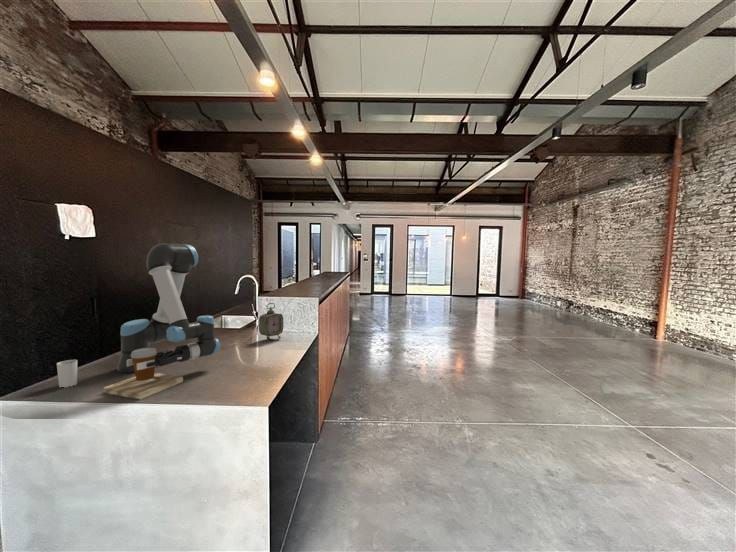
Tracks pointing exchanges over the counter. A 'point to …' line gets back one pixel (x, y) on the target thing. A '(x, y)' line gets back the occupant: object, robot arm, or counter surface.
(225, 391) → the counter surface
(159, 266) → the robot arm
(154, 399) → the counter surface
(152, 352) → the disposable coffee cup
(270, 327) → the tabletop clock
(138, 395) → the birch board
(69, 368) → the drinking glass
